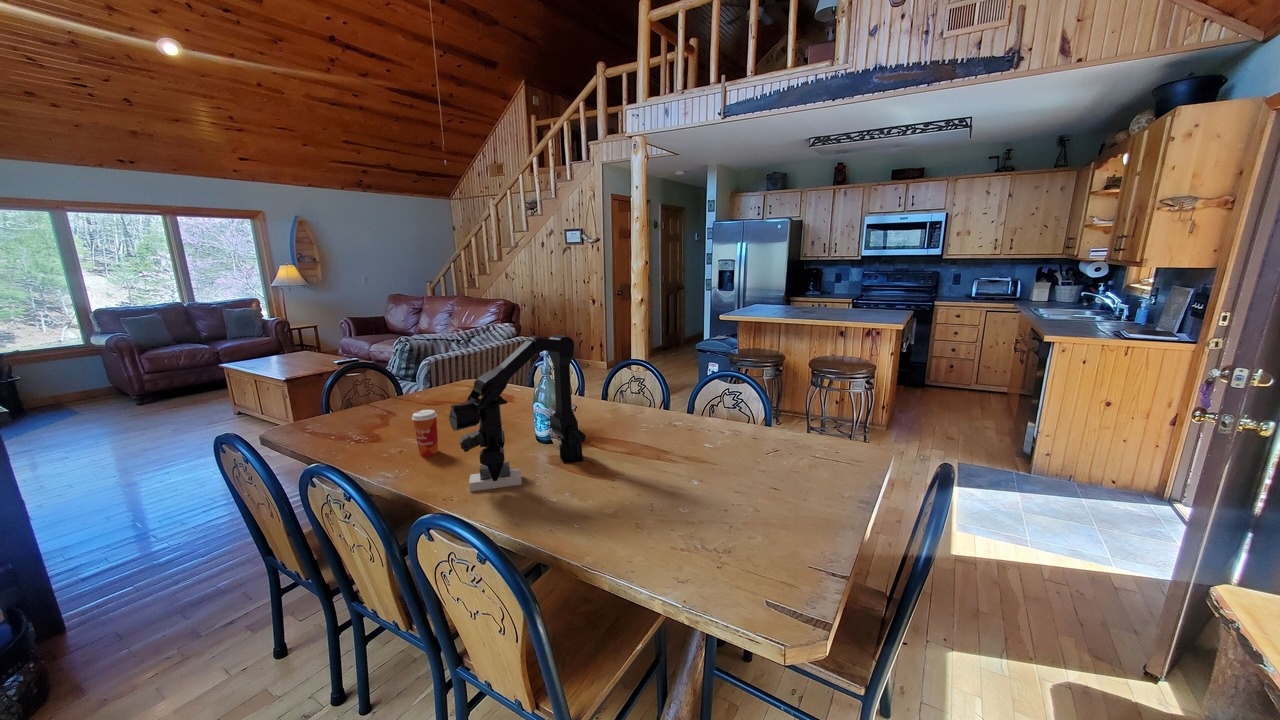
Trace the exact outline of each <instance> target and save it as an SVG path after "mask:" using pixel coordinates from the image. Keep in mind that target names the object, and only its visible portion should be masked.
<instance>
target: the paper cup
mask: <svg viewBox="0 0 1280 720" xmlns="http://www.w3.org/2000/svg"><path fill="white" fill-rule="evenodd" d="M437 417H438V414H437V412H436V411H435V410H434V409H423V410H422V409H421V410H418V411H416V412H414V413H412V417H411V420H412V422H413V426H414V433H415V436H416V442H417V447H418V452H419V456H421V457H432V456H434V454H435V455H436V453H437V452H438V453H439V444H438V442H439V441H438V424H437ZM438 453H437V454H438Z"/></svg>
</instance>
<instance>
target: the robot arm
mask: <svg viewBox="0 0 1280 720" xmlns="http://www.w3.org/2000/svg"><path fill="white" fill-rule="evenodd" d="M575 345H576V344H575V341H574V340H573V339H572V338H571V337H570V336H568V335H567V336H565V335H562V334H553V335H551V336H537V335H530V336H529V337H527V338H526V340H525V341H524V342H523V343H522V344H521V345H520V346H519V347H518V348H516V350H514V351H513V352H512V353H511V354H510V355H509V356H508V357H507V358H506V359H504V360H503V361H502V362H501V363H500V365H498V366H497V367H495V368H493V369H491V370H489V371H486V372H484V373H483V374H482V375H481V376H479V377H477V378H476V379H475V381H474V382H473V388H472V390H471V391H470V393H469V395H468V396H467V399H466V401H467V402H463V403H455V404H451V406H450V408H451V409H450V410H449V414H448V419H449V425H450V427H451V429H452V430H453V431H454V432H455V431H460V430H464V429H468V428H471V427H476V426H477V425H478V424H479V428H478V429H476V430H474V431H471V432H469V433H467V434H465V435H463V436H461V437H460V439H459V441H458V442H459V445H460V449H462V450H463V452H464V453H467V452H469V451H470V450H472V449H474V448H476V447H480V448H482V450H480V452H479V464H480V465H486V466H487V467H488V469H489V471H490V474H491V477H492V479H493V481H497V480H498V477H499V474H500V471H501V468H502V465H503V463H504V462H506V461H505V449H504V446H505V441H506V439H505V438H506V436H505V430H503V421H502V413H501V406H502V405H507V404H508V401H507V400H505V399H504V398H503V396H501V395H502V393H503V392H504V391H505V390H506V388H507V386H508V383H509V382H510V380H511V378H512V377H513V376H514V375H516V374H517V373H518V372H519V370H521V369H522V368H523V367H524V366H525V365H526V364H527V363H528V362H529V361H530V360H532V358H534V356H535V355H537V354H538V353H539V352H540V351H542V352H543V351H545V352H547V353H548V356H549V358H550V361H551V363H552V365H553V379H554V381H553V382H554V392H555V393H554V396H555V397H554V398H555V410H554V414H552V415H551V414H550V415H549V429H551V431H552V433H553V434H554V435H556V437H557V439H559V440H560V443H559V444H558V447H559V448H558V451H559V458H560V460H561V463H563V464H567V463H574V462H575V463H576V462H583V461H584V457H583V443H584V442H585V441H586V436H587V435H586V434H585V433H584V432H582V431H581V430H580V429H579V424H578V420H577V418H576V416H575V413H574V411H573V408H572V407H573V406H572V404H573V403H572V386H571V383H572V382H571V362H572V360H573V358H574V355H575ZM480 397H481V398H480Z"/></svg>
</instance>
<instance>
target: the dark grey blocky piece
mask: <svg viewBox="0 0 1280 720" xmlns="http://www.w3.org/2000/svg"><path fill="white" fill-rule="evenodd" d="M510 466H511V465H510V461H504V463H503V465H502V468H501V471H500V474H499V477H509V476H510V469H511V467H510ZM479 473H480V479H482V480H488V479H489V478H492V477H491V474H490V471H489V469H488V467H487V466H486V465H482V464H480V465H479Z"/></svg>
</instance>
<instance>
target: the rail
mask: <svg viewBox="0 0 1280 720" xmlns="http://www.w3.org/2000/svg"><path fill="white" fill-rule="evenodd" d="M521 471H522V470H521V468H510V476H509V477H498V480H497V481H493V479H492V478H489V479H488V480H482V479H480V472H478V473H473V474H470V475H469V482H468V488H469V492H476V491H477V492H478V491H484V490H491V489H499V488H506V487H513V486H520V485H523V483H522V472H521Z"/></svg>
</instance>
